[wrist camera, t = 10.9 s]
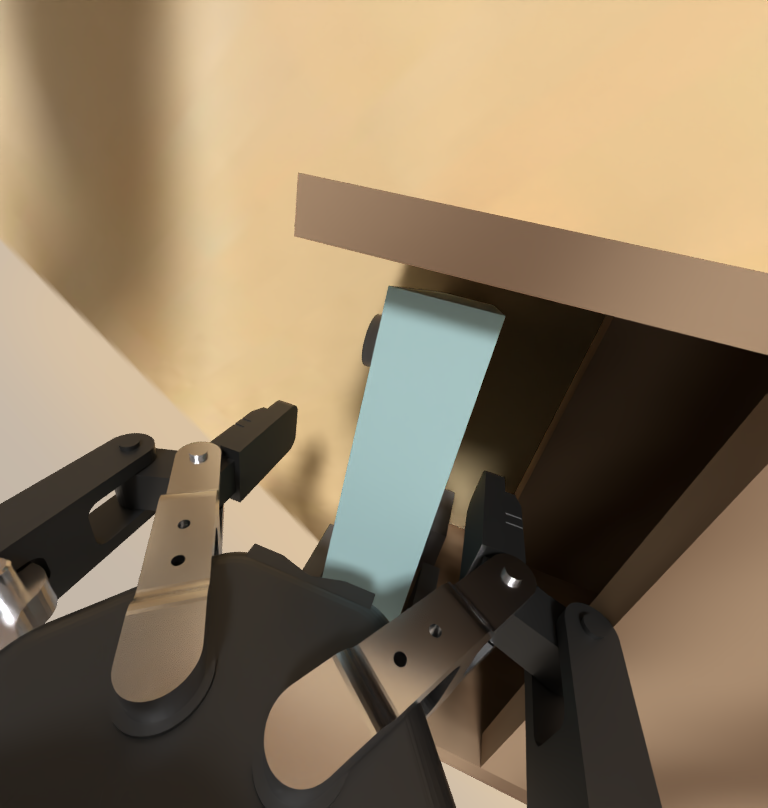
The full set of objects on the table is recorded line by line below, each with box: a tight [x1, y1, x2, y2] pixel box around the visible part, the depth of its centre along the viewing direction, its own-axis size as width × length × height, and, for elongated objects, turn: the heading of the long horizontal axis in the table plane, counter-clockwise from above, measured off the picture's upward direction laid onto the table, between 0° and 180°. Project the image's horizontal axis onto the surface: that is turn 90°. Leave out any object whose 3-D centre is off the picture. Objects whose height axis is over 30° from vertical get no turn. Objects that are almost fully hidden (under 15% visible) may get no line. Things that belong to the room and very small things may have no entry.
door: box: [322, 286, 505, 622], centre depth 14 cm, size 4×14×10 cm, turn 169°
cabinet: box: [294, 173, 768, 808], centre depth 13 cm, size 18×18×11 cm
